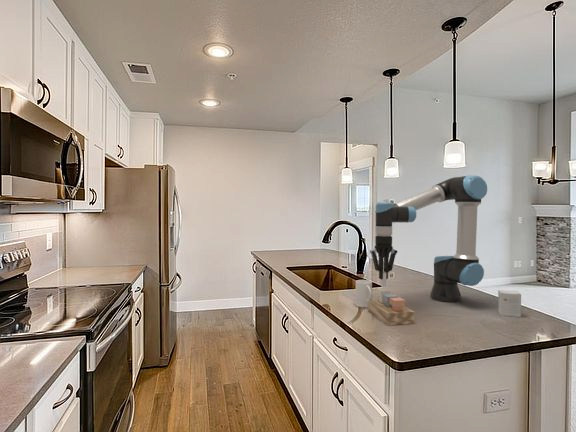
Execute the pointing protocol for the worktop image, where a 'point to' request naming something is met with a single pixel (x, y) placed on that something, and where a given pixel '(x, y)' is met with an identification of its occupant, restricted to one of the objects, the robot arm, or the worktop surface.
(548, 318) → the worktop surface
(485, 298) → the worktop surface
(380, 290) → the ivory key
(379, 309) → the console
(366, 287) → the mug
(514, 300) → the small box
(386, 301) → the slate key
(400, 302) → the terracotta key
